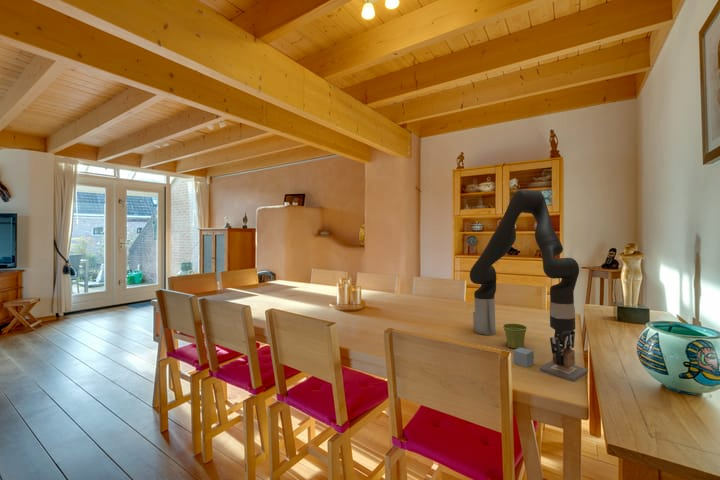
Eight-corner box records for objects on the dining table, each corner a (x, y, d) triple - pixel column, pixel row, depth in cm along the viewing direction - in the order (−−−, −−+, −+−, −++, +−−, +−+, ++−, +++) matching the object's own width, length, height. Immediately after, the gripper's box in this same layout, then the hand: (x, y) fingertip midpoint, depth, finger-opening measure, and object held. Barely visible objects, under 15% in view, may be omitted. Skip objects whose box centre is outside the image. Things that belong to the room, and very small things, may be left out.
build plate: (539, 370, 114) (539, 367, 114) (554, 362, 120) (554, 359, 120) (574, 381, 105) (574, 378, 105) (588, 372, 111) (588, 368, 111)
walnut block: (552, 364, 113) (552, 350, 113) (559, 360, 116) (558, 346, 115) (568, 368, 109) (568, 354, 108) (574, 364, 111) (574, 350, 111)
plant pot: (514, 352, 131) (513, 331, 131) (498, 344, 140) (497, 324, 140) (533, 348, 134) (532, 328, 133) (516, 341, 143) (515, 322, 142)
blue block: (513, 363, 120) (513, 350, 120) (520, 360, 123) (520, 347, 123) (526, 367, 116) (526, 354, 116) (533, 364, 119) (533, 350, 119)
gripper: (560, 309, 119) (561, 354, 119) (540, 316, 111) (542, 365, 111) (583, 313, 113) (584, 360, 113) (564, 321, 104) (566, 372, 105)
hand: (563, 362), depth 112 cm, fingers closed on walnut block, 5 cm apart
